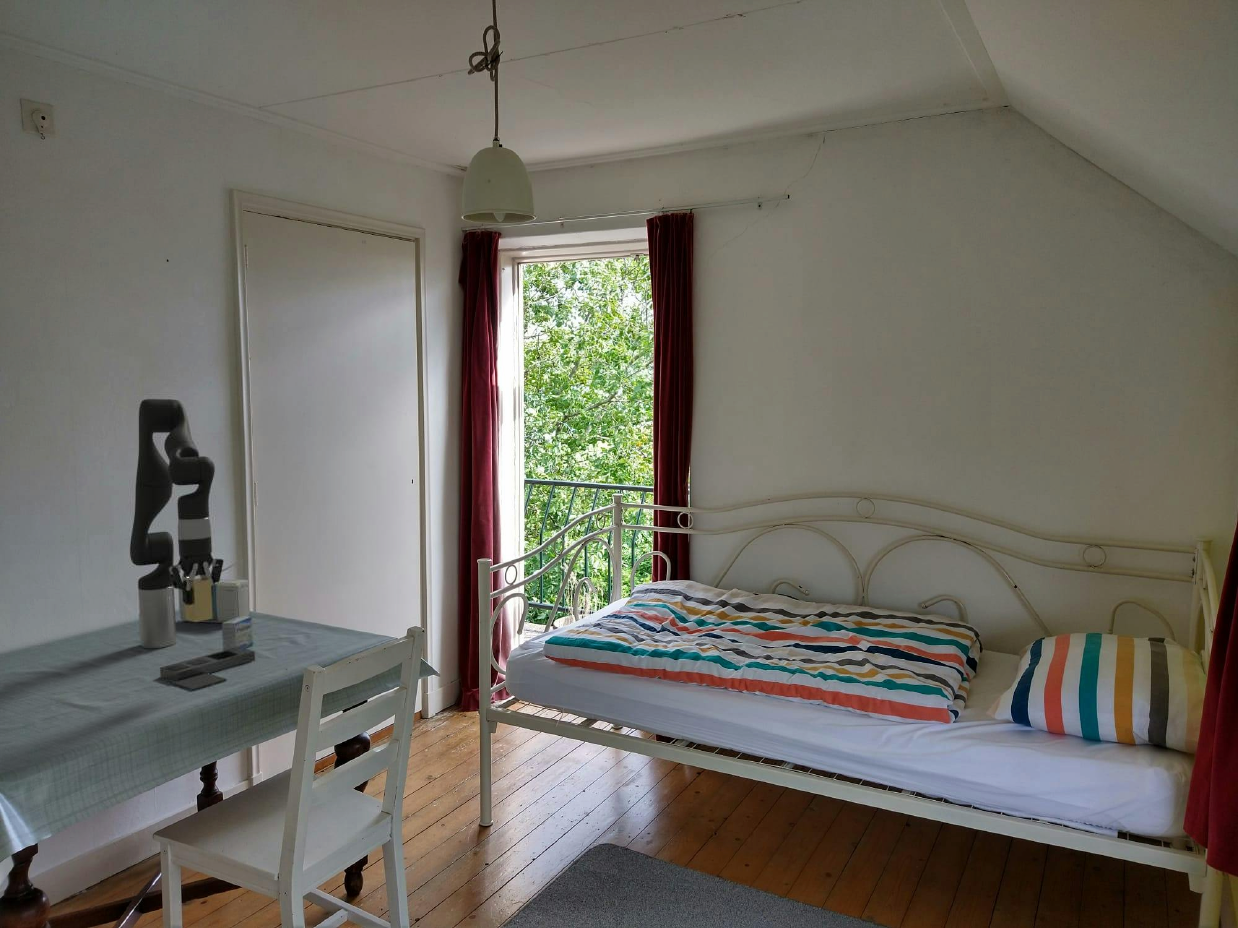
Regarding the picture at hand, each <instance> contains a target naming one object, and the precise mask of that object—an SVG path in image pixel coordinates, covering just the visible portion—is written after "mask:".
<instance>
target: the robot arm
mask: <svg viewBox="0 0 1238 928" xmlns="http://www.w3.org/2000/svg"><path fill="white" fill-rule="evenodd" d="M138 409H139V410H138V455H137V456H138V458H137V467H136V476H135V489H134V490H135V494H134V495H135V497H134V499H135V501H134V516H133V517H134V518H133V524H132V530H131V534H130V535H131V536H130V544H129V556H130V560H131V562H132V564H133V565H134V566H138V567H139V566H140V567H143V566H150V565H157V567H156V568H155V569H153V570H152V571H151V572H149V573H148V574H144V576H143V575H142V576H141V577H139V578H138V580H137V589H138V590H137V591H138V594H137V595H138V608H139V609H138V610H139V612H138V619H139V620H138V621H139V640H140V642H139V643H140V646H141V647H142V648H143V649H161V648H164V647H169V646H172V645H175V644H176V643H177V642H178V641H177V623H176V607H175V606H176V604H175V603H176V602H175V589H177V590H178V589H181V590H182V595H183V602H184V603H185V604H186V605H192V590H190V589H191V582H193V581H194V578H195V577H198V576H199V578H202V579H203V578H205V579H210V580H211V595H212V597H213V590H212V586H213V584H214V583H216V582H219V581H220V579H221V574H222V572H221V571H222V570H223V566H224V559H222V558H213V555H212V552H213V547H212V545H213V544H212V543H213V542H212V526H211V520H210V510H209V509H210V506H209V505H210V504H209V503H210V502H209V499H210V493H211V487H212V484H213V481H214V477H215V472H216V467H215V463H214V462H213V460H212V459H211V458H210V457H209V456H202V455H201V456H200V452H199V451H198V448H197V446H196V445H195V442H194V440H193V438H192V435H191V430H190V425H189V420H188V416H187V412H186V411H187V410H186V409H185V406H184V404H183V403H182V402H181V401H180V400H177V399H170V398H169V399H162V398H161V399H160V398H146V399H143V400H142V401H141V402H140V404H139V407H138ZM156 433H159V434H161V433H163V434H164V433H165V434H166V433H167V434H168V435H167V436H166V438H165V439H164V444H163V445H164V447H163V448H164V451H165V453H166V456H167V458H168V461H169V463H168V462H167V461H166V460H165V458H164V457H163V456H162V454H161V453H160V451H159V450H158V448H157V446H156V444H155V442H154V439H153V436H154V434H156ZM173 484H174V485H175V486H194V485H198V486H197V488H196V489H195V491H193V492H190V493H186V494H183V495H181V496H179V497H178V499H177V517H178V519H177V541H178V556H179V560H178V562H177V564H175V565H174V560H175V559H174V553H175V551H174V547H175V546H174V540H173V537H172V536H173V535H172V534H171V533H170V532H169V531H157V532H156V531H155V532H149V530H150V528H151V525H152V523H154V520H155V519H156V518H157V516H159V514H160V513H161V512H162V510H163V509H164V508H165V507H166V506H167V504H168V503H169V501H170V500H171V498H172V495H173V494H172V493H173ZM211 566H212V568H211V571H210V567H211ZM181 570H182V577H181V575H180V573H181Z"/></svg>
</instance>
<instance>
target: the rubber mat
mask: <svg viewBox="0 0 1238 928" xmlns="http://www.w3.org/2000/svg"><path fill="white" fill-rule="evenodd" d="M225 682H227V678H224V677H221V676H219V675H215V674H211V673H209V674H208V673H204V674H201V675H198V676H194V677H191V678H187V679H184V680H180V681H177V682H174V681H172V685H173V684H174V686H176V687H179V686H180V687H179V688H183V689H185V690H188V689H190V690H189V691H191V690H192V692H194V690H195V691H197V689H198V690H201V689H204V688H207V687H206V686H208V687H211V686H213V685H212V684H214V685H217V683H218V684H221V683H225ZM210 685H211V686H210ZM200 688H201V689H200Z"/></svg>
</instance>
